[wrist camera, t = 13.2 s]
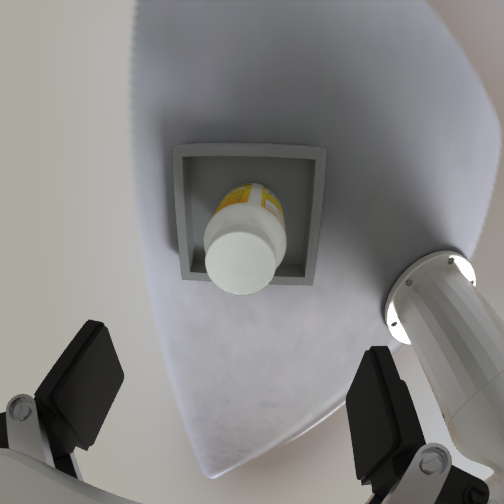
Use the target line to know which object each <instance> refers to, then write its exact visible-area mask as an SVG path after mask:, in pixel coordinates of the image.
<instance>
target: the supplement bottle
mask: <svg viewBox="0 0 504 504" xmlns="http://www.w3.org/2000/svg"><path fill="white" fill-rule="evenodd" d="M204 249H205V253H206V256H205V266H206V270H207V273H208V275H209V277H210V279H211V280H212V281H213V283H214V284H215V285H217V286H218V287H219V288H221V289H222V290H224V291H226V292H229V293H232V294H238V295H247V294H252V293H255V292H258V291H260V290H261V289H263V288H264V287H266V286H267V285H268V284H269V282H270V281H271V280H272V278H273V276H274V273H275V270H276V268H277V267H278V266H279V265H280V263H281V261H282V260H283V257H284V255H285V251H286V231H285V223H284V214H283V208H282V204H281V202H280V200H279V198H278V197H277V195H276V194H275V193H274V192H273V191H272V190H271V189H269V188H268V187H266V186H264V185H261V184H257V183H245V184H241V185H239V186H237V187H235V188H233V189H232V190H230V191H229V192H228V193H227V194H226V195H225V197H224V198H223V199H222V201H221V203H220V205H219V207H218V208H217V210H216V211H215V213H214V215H213V216H212V218H211V220H210V221H209V223H208V225H207V227H206V230H205V234H204Z"/></svg>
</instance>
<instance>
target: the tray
mask: <svg viewBox="0 0 504 504" xmlns="http://www.w3.org/2000/svg"><path fill="white" fill-rule="evenodd" d="M172 159H173V181H174V197H175V212H176V225H177V236H178V247H179V257H180V266H181V275H182V280H197V281H212V280H211V279H210V277H209V275H208V273H207V270H206V266H205V256H206V253H205V249H204V234H205V230H206V227H207V225H208V223H209V221H210V220H211V218H212V216H213V215H214V213H215V211H216V210H217V208H218V207H219V205H220V203H221V201H222V199H223V198H224V197H225V195H226V194H227V193H228V192H229V191H230V190H232V189H233V188H235V187H237V186H239V185H241V184H245V183H257V184H261V185H264V186H266V187H268V188H269V189H271V190H272V191H273V192H274V193H275V194H276V195H277V197H278V198H279V200H280V202H281V204H282V208H283V214H284V223H285V231H286V251H285V255H284V257H283V260H282V261H281V263H280V265H279V266H278V267H277V268H276V270H275V273H274V276H273V278H272V280H271V281H270V282H269V284H281V285H312V286H313V280H314V273H315V266H316V258H317V250H318V242H319V234H320V225H321V216H322V206H323V196H324V185H325V172H326V159H327V150H326V149H324V148H322V147H320V146H308V145H294V144H274V143H186V144H180V145H177V146H174V147H172Z"/></svg>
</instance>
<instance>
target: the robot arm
mask: <svg viewBox="0 0 504 504" xmlns="http://www.w3.org/2000/svg"><path fill="white" fill-rule="evenodd" d="M475 284H476V280H475V273H474V269H473V267H472V265H471V264H470V262H469V261H468V260H467V259H466V258H465V257H464V256H462V255H461V254H459V253H457V252H453V251H438V252H434V253H431V254H429V255H426V256H424V257H422V258H421V259H419V260H418V261H416V262H415V263H413V264H412V265H411V266H410V267H409V268H407V269H406V271H405V272H404V273H403V274H402V275H401V276H400V277H399V278H398V280H397V281H396V283H395V284H394V286H393V287H392V289H391V291H390V293H389V295H388V298H387V301H386V305H385V321H386V324H387V327H388V329H389V331H390V333H391V335H392V336H393V337H394V338H395V339H397V340H399V341H400V342H403V343H406V344H411V345H412V347H413V349H414V351H415V353H416V356H417V358H418V360H419V362H420V364H421V366H422V368H423V371H424V373H425V375H426V377H427V380H428V382H429V384H430V386H431V389H432V391H433V393H434V396H435V398H436V401H437V403H438V405H439V408H440V410H441V413H442V415H443V418H444V421H445V423H446V425H447V428H448V431H449V433H450V436H451V439H452V441H453V443H454V445H455V447H456V449H457V450H458V451H459V452H460V453H461V454H462V455H463V456H465V457H466V458H468V459H470V460H472V461H475V462H477V463H480V464H483V465H485V466H488V467H490V468H491V469H492V470H494V474H493V475H492V476H490V477H489V478H488V479H486V480H485V481H482V480H481V479H479V478H477V477H475V476H473V475H471V474H469V473H467V472H465V471H462V470H461V469H459V468H457V467H455V466H453V465H451V464H452V460H451V455H450V452H449V451H448V450H447V448H446V447H444V446H443V445H441V444H438V443H429V444H426V442H425V439H424V435H423V432H422V429H421V426H420V423H419V420H418V416H417V413H416V410H415V407H414V404H413V401H412V399H411V396H410V393H409V390H408V387H407V385H406V383H405V382H404V381H403V380H401V379H400V377H399V374H398V371H397V369H396V366H395V363H394V361H393V358H392V355H391V353H390V350H389V348H388V347H387V346H372V347H370V349H369V350H366V351H365V353H364V355H363V358H362V360H361V363H360V365H359V368H358V370H357V373H356V375H355V377H354V380H353V382H352V384H351V387H350V389H349V391H348V393H347V396H346V408H347V414H348V420H349V426H350V432H351V440H352V447H353V454H354V461H355V469H356V476H357V479H358V480H361V483H362V485H369V484H371V485H372V492H373V494H372V495H371V497H370V498H369V499H368V501H367V502H366V503H365V504H504V320H503V319H502V318H501V316H500V315H499V314H498V313H497V311H496V310H495V309H494V308H493V307H492V306H491V304H489V302H488V301H487V300H486V299H485V298H484V296H483V295H482V294H481V293H480V292H479V291H478V290H477V289H476V288H475ZM123 380H124V373H123V370H122V367H121V365H120V362H119V360H118V357H117V354H116V352H115V349H114V346H113V343H112V340H111V337H110V334H109V331H108V328H107V327H105V325H104V323H102V322H99V321H94V320H88V321H87V322H86V323H85V324H84V325H83V327H82V328H81V329H80V331H79V332H78V333H77V335H76V336H75V337H74V339H73V340H72V341H71V342H70V344H69V345H68V346H67V348H66V349H65V350H64V352H63V353H62V355H61V356H60V358H59V359H58V360H57V362H56V363H55V364H54V366H53V367H52V369H51V370H50V372H49V373H48V375H47V376H46V377H45V379H44V380H43V382H42V383H41V385H40V386H39V388H38V389H37V391H36V392H35V394H34V395H35V398H34V399H33V398H32V397H31V396H29V395H27V394H19V395H16V396H14V397H13V398H12V399H11V400H10V401H9V402H8V405H7V407H6V412H3V413H0V504H141V503H138V502H135V501H132V500H129V499H126V498H123V497H120V496H117V495H114V494H112V493H109V492H106V491H104V490H101V489H99V488H96V487H94V486H92V485H89V484H87V483H85V482H84V481H83V479H82V475H81V473H80V470H79V467H78V464H77V461H76V458H75V455H74V449H75V446H77V447H79V448H81V449H83V450H86V451H87V450H88V448H89V446H92V445H93V444H94V442H95V440H96V437H97V435H98V433H99V431H100V428H101V427H102V424H103V422H104V420H105V418H106V415H107V414H108V411H109V409H110V407H111V405H112V403H113V401H114V399H115V397H116V395H117V393H118V391H119V389H120V387H121V385H122V383H123Z"/></svg>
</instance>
